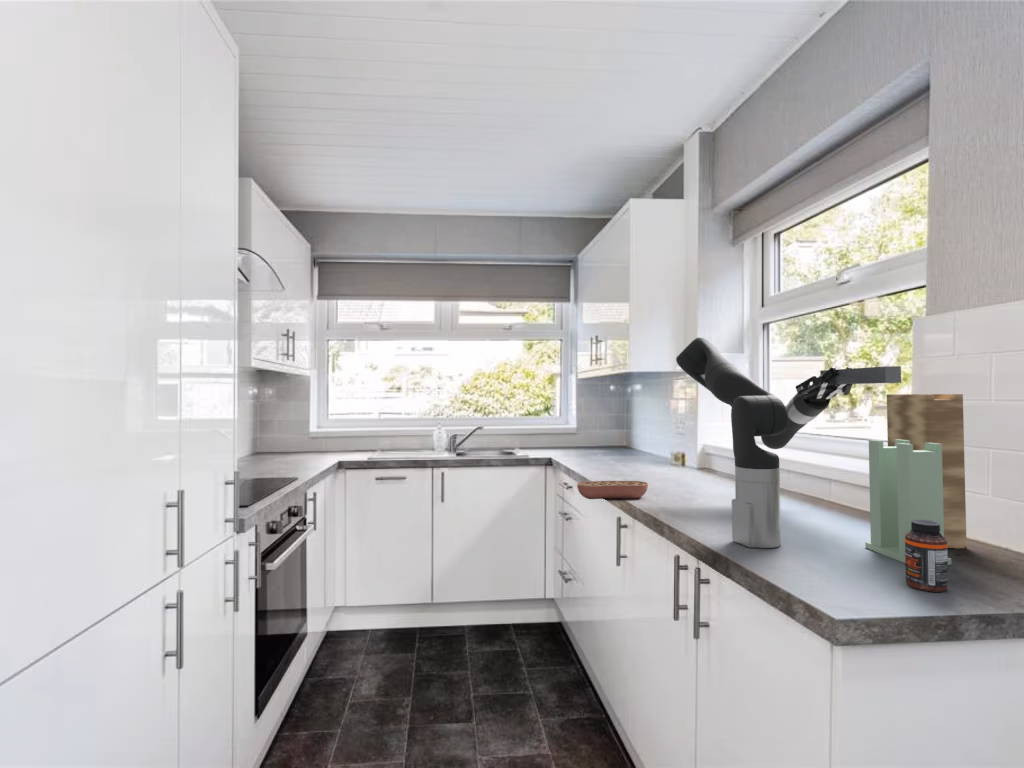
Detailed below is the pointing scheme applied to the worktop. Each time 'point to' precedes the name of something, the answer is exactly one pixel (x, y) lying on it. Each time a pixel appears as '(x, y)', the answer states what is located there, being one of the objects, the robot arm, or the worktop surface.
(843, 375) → the rail
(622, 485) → the bread loaf
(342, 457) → the worktop surface
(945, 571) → the supplement bottle
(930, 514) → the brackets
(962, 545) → the wooden block
